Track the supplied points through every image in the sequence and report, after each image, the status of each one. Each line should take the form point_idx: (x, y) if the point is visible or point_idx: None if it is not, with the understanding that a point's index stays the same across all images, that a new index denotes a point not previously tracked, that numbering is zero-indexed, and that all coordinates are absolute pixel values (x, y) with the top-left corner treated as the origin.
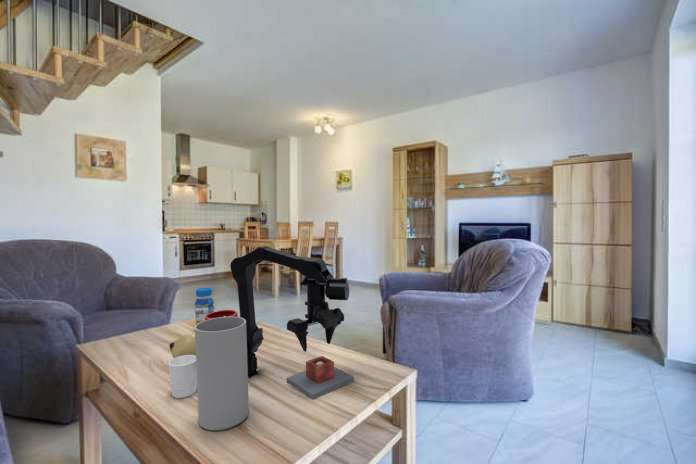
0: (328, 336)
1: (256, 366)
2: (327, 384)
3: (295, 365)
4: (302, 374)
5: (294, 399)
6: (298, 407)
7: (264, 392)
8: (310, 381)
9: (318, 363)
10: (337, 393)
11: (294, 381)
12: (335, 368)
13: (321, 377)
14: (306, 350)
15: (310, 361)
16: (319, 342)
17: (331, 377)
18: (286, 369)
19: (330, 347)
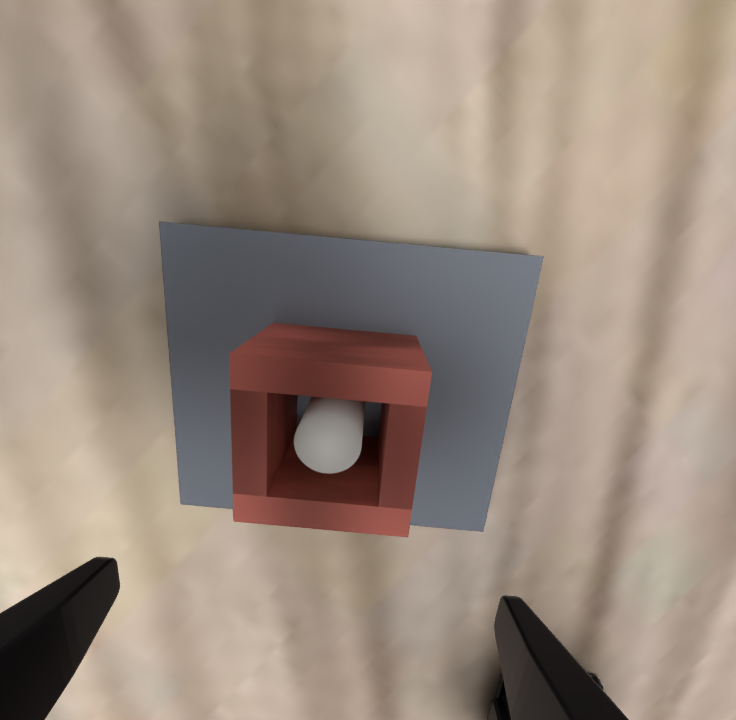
0: (12, 686)
1: (503, 717)
2: (377, 282)
3: (315, 612)
4: None
5: (588, 342)
6: (644, 253)
7: (622, 514)
8: None
9: (340, 448)
10: (370, 187)
11: (488, 467)
12: (186, 407)
13: (386, 342)
14: (508, 604)
15: (381, 509)
16: None
17: (297, 326)
18: (378, 611)
19: None
